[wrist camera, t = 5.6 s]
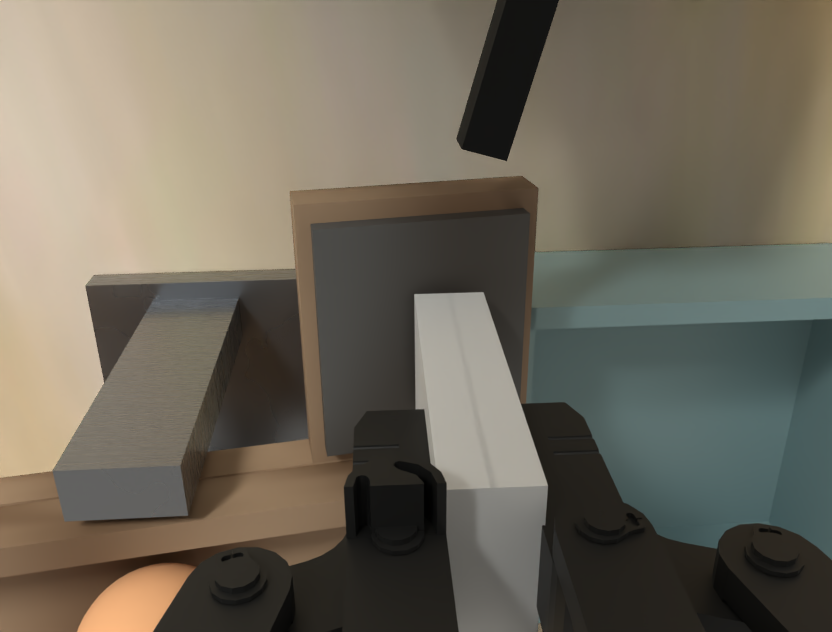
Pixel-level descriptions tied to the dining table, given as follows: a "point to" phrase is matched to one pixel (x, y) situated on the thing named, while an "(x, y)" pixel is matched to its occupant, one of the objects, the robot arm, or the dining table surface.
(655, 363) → the tray
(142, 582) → the ball
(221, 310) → the stand
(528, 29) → the toy
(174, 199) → the dining table surface
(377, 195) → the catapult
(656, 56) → the dining table surface
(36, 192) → the dining table surface
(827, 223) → the dining table surface
